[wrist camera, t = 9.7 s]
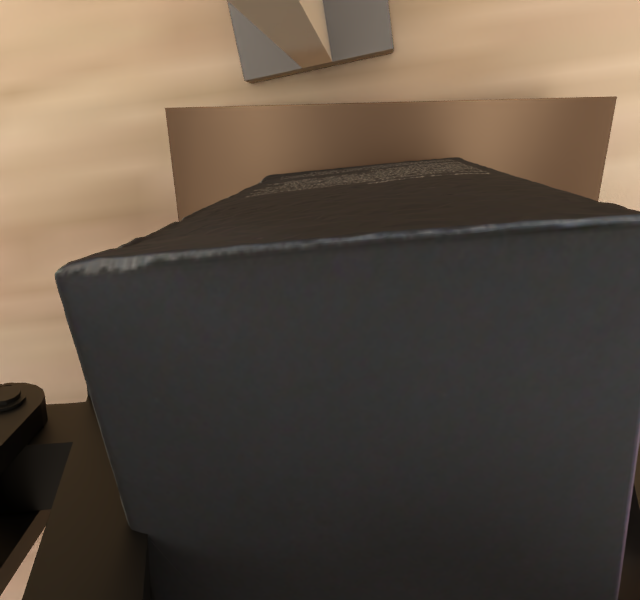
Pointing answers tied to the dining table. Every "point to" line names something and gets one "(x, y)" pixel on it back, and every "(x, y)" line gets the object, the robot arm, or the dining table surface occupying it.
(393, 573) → the small box
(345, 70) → the dining table surface
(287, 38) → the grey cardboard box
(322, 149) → the walnut block
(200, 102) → the dining table surface
